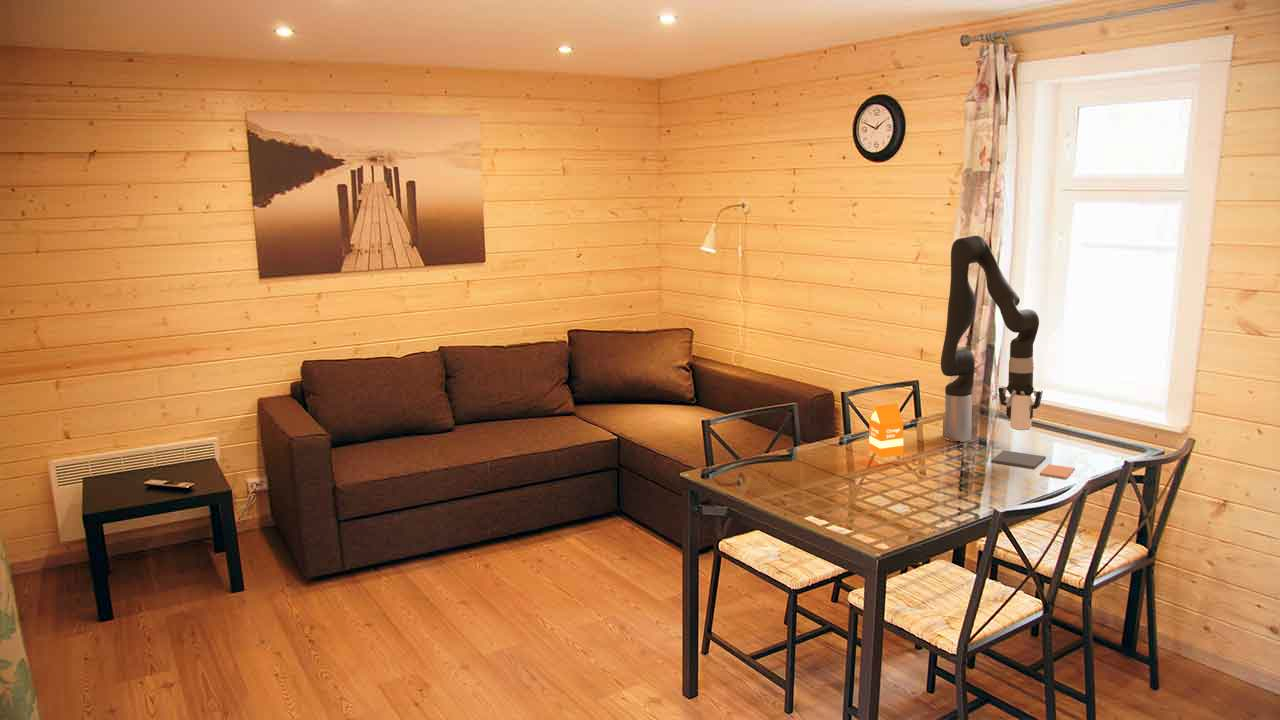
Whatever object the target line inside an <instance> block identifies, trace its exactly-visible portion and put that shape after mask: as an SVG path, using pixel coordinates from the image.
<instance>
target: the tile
mask: <svg viewBox="0 0 1280 720" xmlns="http://www.w3.org/2000/svg"><path fill="white" fill-rule="evenodd" d="M1074 470H1076V469H1075V467H1070V466H1064V465H1058V464H1056V465H1055V464H1050V463H1049V464H1047V465H1046V466H1045V467H1044V468H1043V469H1042V470H1041V471H1040V472H1039V476H1043V475H1045V476H1044V477H1049V476H1051V477H1050V478H1055V477H1056V478H1057V479H1062V478H1065V479H1064V480H1067V479H1068V478H1070V476H1071V475H1072V474H1073V473H1074V472H1075V471H1074ZM1073 471H1074V472H1073ZM1071 473H1072V474H1071Z"/></svg>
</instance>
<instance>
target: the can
mask: <svg viewBox="0 0 1280 720" xmlns="http://www.w3.org/2000/svg"><path fill="white" fill-rule="evenodd" d="M1032 403H1033V396H1032V394H1031V395H1030V396H1029V395H1017V394H1015V395H1014V396H1013V398H1012V403H1011V418H1010V428H1011V429H1013V430H1016V431H1028V430H1030V429H1031V428H1032V419H1033V418H1032V419H1030V410H1029V408H1030V404H1031V406H1032Z"/></svg>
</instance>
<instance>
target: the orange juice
mask: <svg viewBox="0 0 1280 720" xmlns="http://www.w3.org/2000/svg"><path fill="white" fill-rule="evenodd" d="M868 425H869V439H868V440H869V452H870V451H872V452H873V453H875V454H876V455H878V456H879V457H880V458H881V457H890V456H903V457H904V420H903V417H902V415H901V411H900V408H899V403H891V404H884V405H883V404H882V405H875V406H874V408H873V409H872V412H871V414H870V417H869V423H868Z"/></svg>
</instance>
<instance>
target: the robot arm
mask: <svg viewBox="0 0 1280 720" xmlns="http://www.w3.org/2000/svg"><path fill="white" fill-rule="evenodd" d="M975 263H976V264H978V265H979V266H980V268H982V270H983V272H984V274H985V280H986V287H987V288H986V289H987V292H988V294H989V296H990V298H991V299H992V300H993V302H994V303H995V304H996V305H997V307H998V309H999V311H1000V314H1001V317H1002V320H1003V323H1004V326H1006V328H1007V329H1008V330H1009V331H1010V332H1013V333H1015V334H1016V333H1017V336H1016V337H1015V338H1013V339H1012V340H1010V343H1009V361H1008V379H1007V380H1008V382H1007V383H1008V384H1007V386H1000V387H998V396H999V401H1000V404H1001V405H1002V406H1005V407H1006V409H1005V411H1006V412H1005V414H1006V415H1005V416H1006V417H1007V418H1009V419H1011V403H1012V398H1013V396H1014V395H1015V394H1017V395H1029V396H1030V395H1031V396H1032V394H1033V395H1034V397H1035V399H1034V403H1033V402H1032V406H1031V404H1030V408H1029V410H1030V419H1033V418H1034V410H1035V409H1036V410H1037V409H1039V407H1040V406H1041V401H1042V397H1043V392H1044V391H1043V390H1038V389H1035V388H1034V342H1036V341H1035V340H1036V337H1037V334H1038V330H1039V326H1040V319H1039V314H1038V313H1037V312H1036V311H1035V310H1033V309H1029V308H1027V309H1020V310H1019V309H1018V308H1017V307H1018V306H1019V304H1020V301H1021V300H1020V297H1019V296H1018V294H1017V292H1016V291H1015V289H1014V288H1013V287H1012V286H1011V284H1010V283H1009V281H1008V280H1007V279H1006V277H1005V276H1004V274H1003V272H1002V270H1001V268H1000V265H999V264H998V262H997V259H996V258H995V255H994V254H993V252H992V250H991V247H990V246H989V244H988V242H987V240H985V238H984V237H983V236H981V235H971V236H966V237H960V238H958V239H956V240H954V242H953V243H952V244H951V250H950V285H949V296H948V297H949V298H948V304H947V312H946V313H947V317H946V325H945V326H946V328H945V335H944V341H943V345H942V352H941V356H940V369H941V372H942V374H943V376H946V377H956V376H958V377H957V378H956V379H955V380H953V381H952V382H949V383H947V385H946V386H945V387H944V389H945V390H944V394H945V396H944V398H945V399H944V401H945V402H944V413H943V414H942V438H943V437H944V438H947V439H949V440H952V441H951V442H953V441H960V442H959V443H965V442H969V441H971V440H972V422H973V421H972V415H973V413H972V412H973V410H972V409H973V401H972V400H973V389H974V380H975V366H976V365H975V364H976V362H975V360H976V359H975V356H974V354H973V352H972V351H971V350H969V349H959V350H958V345H959V343H960V341H961V339H962V338H963V336H964V334H965V333H966V332H967V331H968V329H969V328H970V326H971V325H972V324H973V322H974V319H975V316H976V309H977V298H976V295H975V292H974V290H973V289H972V286H971V284H970V281H969V270H970V269H969V268H970V264H975ZM1007 392H1008V393H1009V394H1010V396H1009V398H1008V400H1007V396H1006V393H1007ZM949 440H948V441H949Z"/></svg>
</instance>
